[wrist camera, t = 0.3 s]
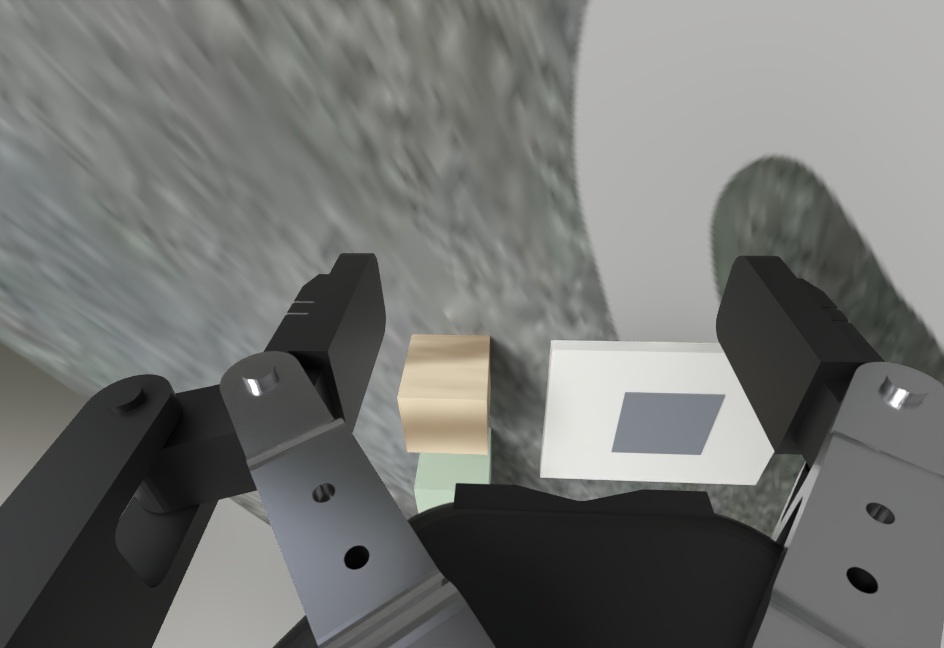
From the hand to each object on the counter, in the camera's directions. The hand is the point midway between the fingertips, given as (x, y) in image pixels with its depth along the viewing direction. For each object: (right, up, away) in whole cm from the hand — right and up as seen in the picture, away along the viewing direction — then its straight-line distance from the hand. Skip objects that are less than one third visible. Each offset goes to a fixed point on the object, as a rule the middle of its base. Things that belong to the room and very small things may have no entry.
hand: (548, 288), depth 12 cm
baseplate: (+13, -8, +28) cm, 32 cm away
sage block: (-3, -11, +33) cm, 35 cm away
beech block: (-3, -4, +26) cm, 27 cm away
